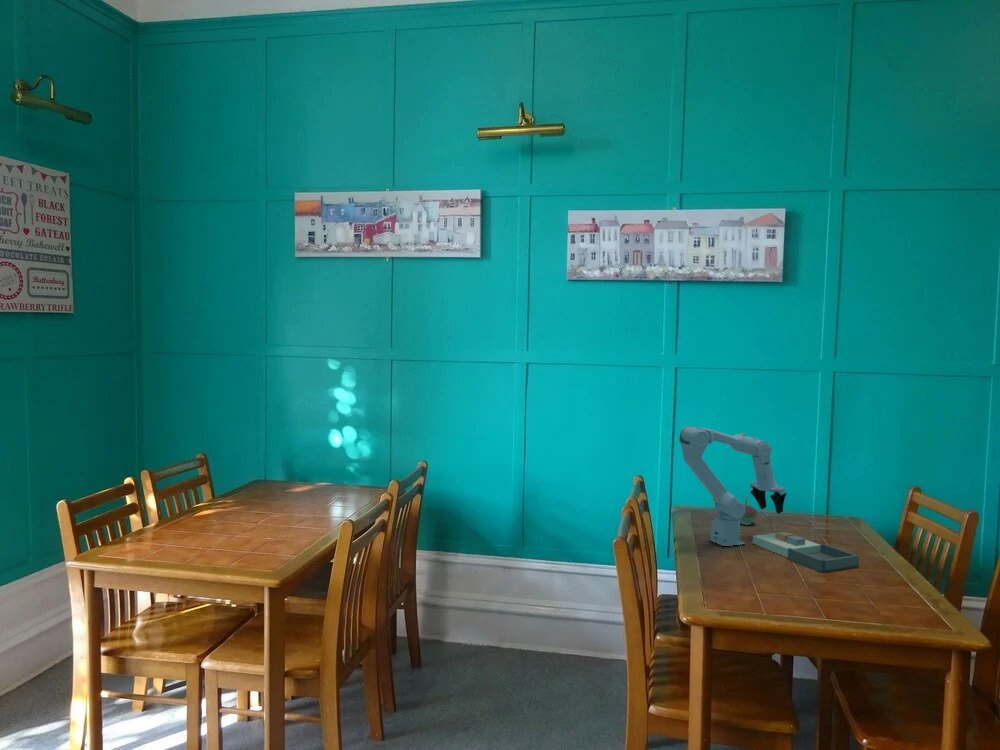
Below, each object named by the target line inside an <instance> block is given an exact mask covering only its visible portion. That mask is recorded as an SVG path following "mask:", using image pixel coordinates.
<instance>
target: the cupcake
mask: <svg viewBox="0 0 1000 750" xmlns="http://www.w3.org/2000/svg"><path fill="white" fill-rule="evenodd" d="M744 502H745V503H744V505H745V509H746V510H745V514H744V516H743V517H742V518H741V522H745V523H751V522H752V523H753V521H754V519H755V517H756V516H758V511H757V510H756V508H755V507H753V506H751V505H748V494H746V495H745V501H744Z"/></svg>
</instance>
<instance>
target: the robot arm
mask: <svg viewBox="0 0 1000 750" xmlns="http://www.w3.org/2000/svg"><path fill="white" fill-rule="evenodd" d="M746 435H747V434H746V433H743V432H741V433H736V434H734V435H730V434H727V433H723V432H720V431H718V430H717V431H716V430H715V429H712V428H711V429H710V428H706V427H699V426H695V427H694V426H691V425H686V426H683V427H682V428H681V430H680V432H679V437H678V442H679V444H680V446H681V452H682V458H683V461H684V463H685V464H686V465H687V466H688V468H690V470H691V471H692V472H693V474H694V475H695V477H697V479H698V480H699V482H700V483H701V484H702V486H703V487H704V488H705V490H707V491H708V493H709V494H710V496H711V497H712V499H711V500H712V501H713V503H714V507H715V509H716V511H717V512H718V513H717V514H718V517H717V518H714V519H713V520H712V521H711V523H710V538H709V540H711V541H713V542H716V543H718V544H720V545H727V546H728V545H729V546H731V547H733V546H732V545H739V546H743V545H742V544H745V545H746V543H745V542H743V541H740V539H741V524H740V523H741V518H742V517H743V516H744V514H745V510H746V509H745V503H743V502H742V501H740V500H739V499H737V498H736V496H734V495H733V494H732V493H730V492H729V491H728V490H727V488H726V487H725V486H724V485H723V484H722V482H721V481H720V480H719V478H718V477H717V476H716V474H715V473H714V472H713V471H712V469H711V468H710V467H709V466H708V464H707V463H706V461H705V460H703V458H702V457H703V455H704V453H705V451H706V449H707V447H708V446H709V444H713V442H717V443H721V444H726V445H729V446H730V448H731V449H732V450H733V451H737V452H739V453H743V454H746V455H749V456H751V458H752V464H753V469H754V473H755V478H756V481H754V480H753V481H751V482H749V488H750V489H751V490H750V494H751V495H752V497H754V499H755V500H756V503H757V504H758V506H759V509H760V510H764V509H765V508H767V500H766V492H770V493H773V494H771V495H770V496H769V497H770V499H771V501H772V502H773V505H774V508H775V511H776V513H777V514H778V515H779V514H782V513H783V512H784V502H785V500H786V496H787V491H786V488H785V487H783V486H780V485H779V484H778V483H777V481H776V480H775V475H774V470H773V467H772V461H771V459H772V458H771V454H772V451H773V447H771V445H770V444H769V443H768V442H767V441H764V440H761V439H758V437H757V436H756V437H755V436H753V437H751V436H746ZM740 544H741V545H740Z"/></svg>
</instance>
